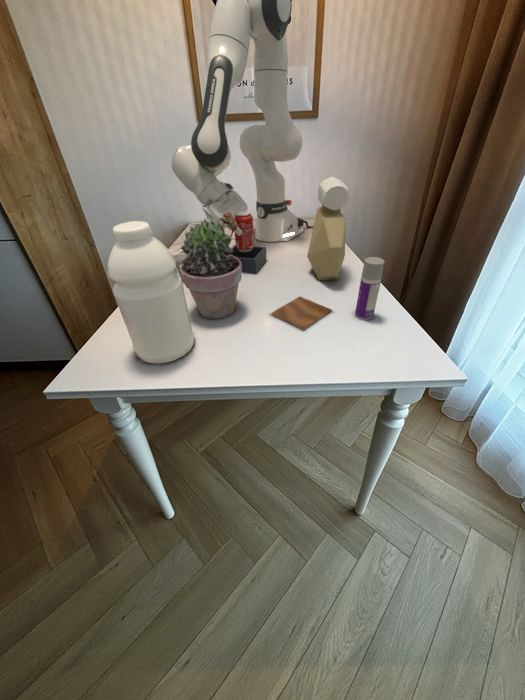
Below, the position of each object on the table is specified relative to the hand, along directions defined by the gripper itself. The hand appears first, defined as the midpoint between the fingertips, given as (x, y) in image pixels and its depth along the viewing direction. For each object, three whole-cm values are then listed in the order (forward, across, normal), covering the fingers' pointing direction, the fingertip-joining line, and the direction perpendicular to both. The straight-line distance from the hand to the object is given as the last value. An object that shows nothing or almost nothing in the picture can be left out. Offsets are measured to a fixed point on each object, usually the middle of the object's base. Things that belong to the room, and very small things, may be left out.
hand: (245, 230), depth 102 cm
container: (+38, -24, -20) cm, 49 cm away
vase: (+28, 0, -10) cm, 30 cm away
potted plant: (+10, -32, +8) cm, 34 cm away
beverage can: (+4, 0, +5) cm, 7 cm away
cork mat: (+26, -27, -9) cm, 39 cm away
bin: (+8, 0, +9) cm, 12 cm away
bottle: (+6, -50, +10) cm, 51 cm away
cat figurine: (-2, -14, +19) cm, 24 cm away
